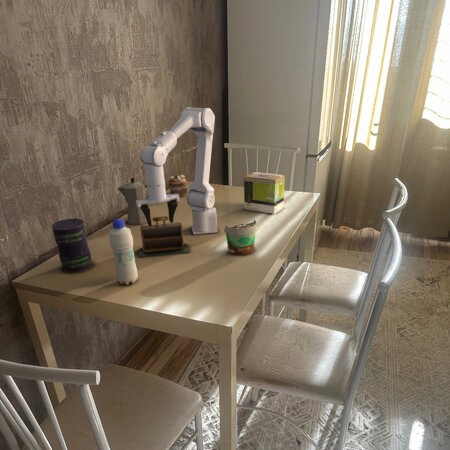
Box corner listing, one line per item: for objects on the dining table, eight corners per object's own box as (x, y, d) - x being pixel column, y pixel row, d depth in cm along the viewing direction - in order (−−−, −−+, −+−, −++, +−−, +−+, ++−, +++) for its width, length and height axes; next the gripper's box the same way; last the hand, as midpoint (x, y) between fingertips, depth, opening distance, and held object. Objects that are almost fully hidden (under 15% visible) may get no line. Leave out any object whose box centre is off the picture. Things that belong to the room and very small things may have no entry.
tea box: (284, 208, 183) (285, 174, 176) (274, 214, 176) (275, 179, 168) (254, 203, 190) (254, 170, 183) (243, 209, 183) (243, 175, 176)
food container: (233, 259, 139) (232, 231, 134) (224, 253, 144) (223, 226, 138) (264, 252, 144) (264, 224, 138) (255, 245, 148) (255, 219, 143)
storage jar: (76, 275, 132) (65, 231, 125) (56, 269, 137) (44, 226, 129) (99, 263, 139) (90, 221, 132) (79, 257, 144) (69, 216, 136)
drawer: (183, 248, 145) (180, 216, 141) (143, 252, 143) (139, 219, 139) (182, 245, 150) (179, 213, 145) (143, 248, 148) (139, 217, 143)
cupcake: (167, 197, 202) (165, 176, 197) (172, 191, 210) (170, 171, 205) (186, 197, 201) (184, 177, 196) (190, 192, 209) (189, 172, 204)
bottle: (118, 277, 130) (107, 216, 120) (140, 275, 131) (131, 215, 121) (115, 287, 125) (103, 224, 114) (138, 285, 125) (128, 223, 115)
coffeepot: (125, 227, 169) (117, 183, 160) (120, 220, 176) (113, 177, 167) (161, 221, 174) (156, 177, 164) (155, 214, 181) (150, 172, 172)
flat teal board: (188, 252, 145) (188, 249, 145) (139, 257, 143) (139, 254, 142) (187, 245, 151) (186, 242, 150) (139, 249, 148) (139, 247, 148)
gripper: (173, 178, 141) (176, 216, 148) (131, 184, 136) (137, 223, 143) (180, 183, 136) (183, 223, 143) (136, 190, 131) (142, 230, 138)
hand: (160, 223), depth 142 cm, fingers open, 7 cm apart
